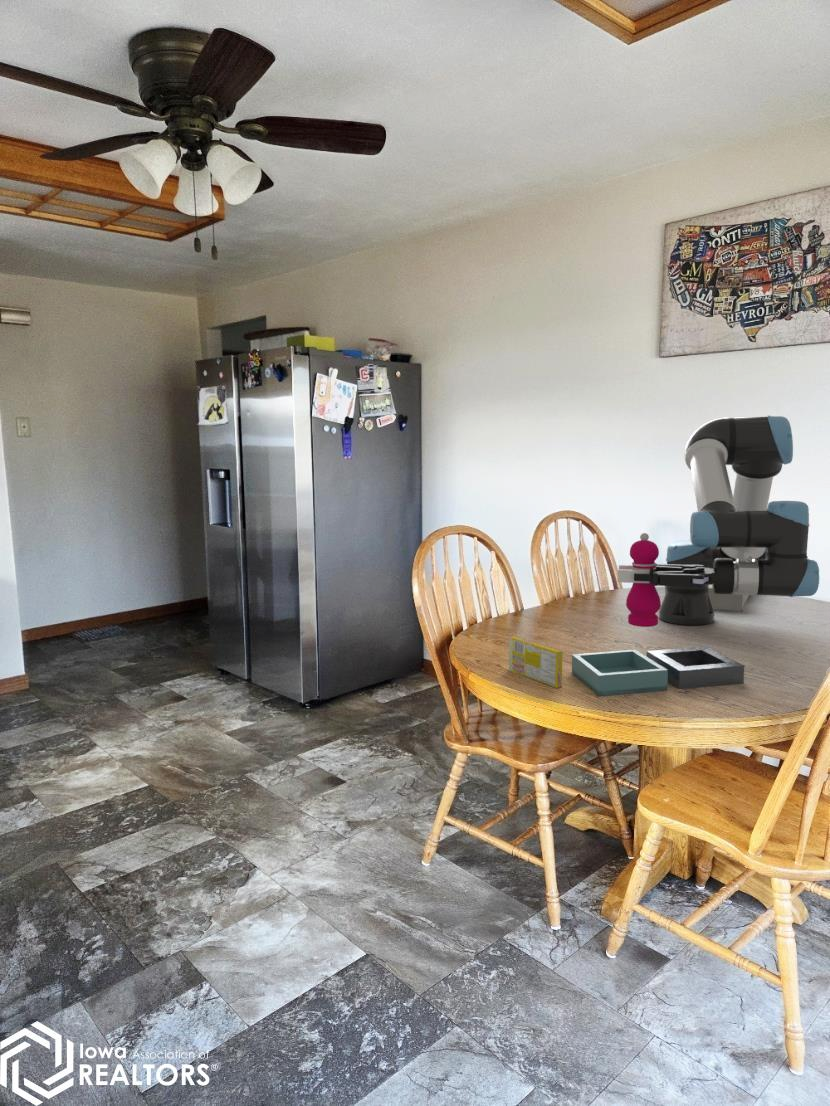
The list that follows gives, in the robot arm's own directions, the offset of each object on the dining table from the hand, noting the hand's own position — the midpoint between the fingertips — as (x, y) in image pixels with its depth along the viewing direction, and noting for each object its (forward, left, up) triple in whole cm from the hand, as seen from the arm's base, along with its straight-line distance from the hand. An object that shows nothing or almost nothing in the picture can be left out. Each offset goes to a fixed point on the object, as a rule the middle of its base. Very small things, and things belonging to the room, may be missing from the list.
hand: (618, 573), depth 156 cm
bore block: (-17, +2, -24) cm, 30 cm away
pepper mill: (-5, +2, -11) cm, 12 cm away
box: (-63, -68, -25) cm, 96 cm away
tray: (+1, +2, -24) cm, 24 cm away
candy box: (+18, -5, -24) cm, 31 cm away
